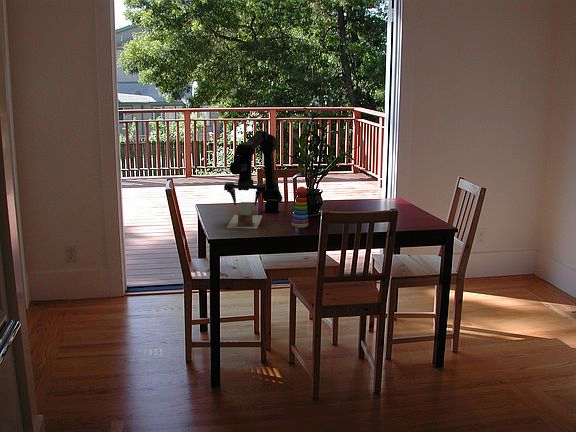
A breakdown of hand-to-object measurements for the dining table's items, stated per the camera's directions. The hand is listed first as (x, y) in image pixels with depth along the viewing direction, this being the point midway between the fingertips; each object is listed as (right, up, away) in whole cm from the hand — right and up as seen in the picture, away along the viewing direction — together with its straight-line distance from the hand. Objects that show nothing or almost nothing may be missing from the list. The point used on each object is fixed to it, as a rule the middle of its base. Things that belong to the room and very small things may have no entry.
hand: (245, 205), depth 315 cm
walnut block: (0, -9, +2) cm, 9 cm away
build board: (-1, -8, +10) cm, 13 cm away
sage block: (0, -4, +1) cm, 4 cm away
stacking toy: (+25, -10, +5) cm, 27 cm away
